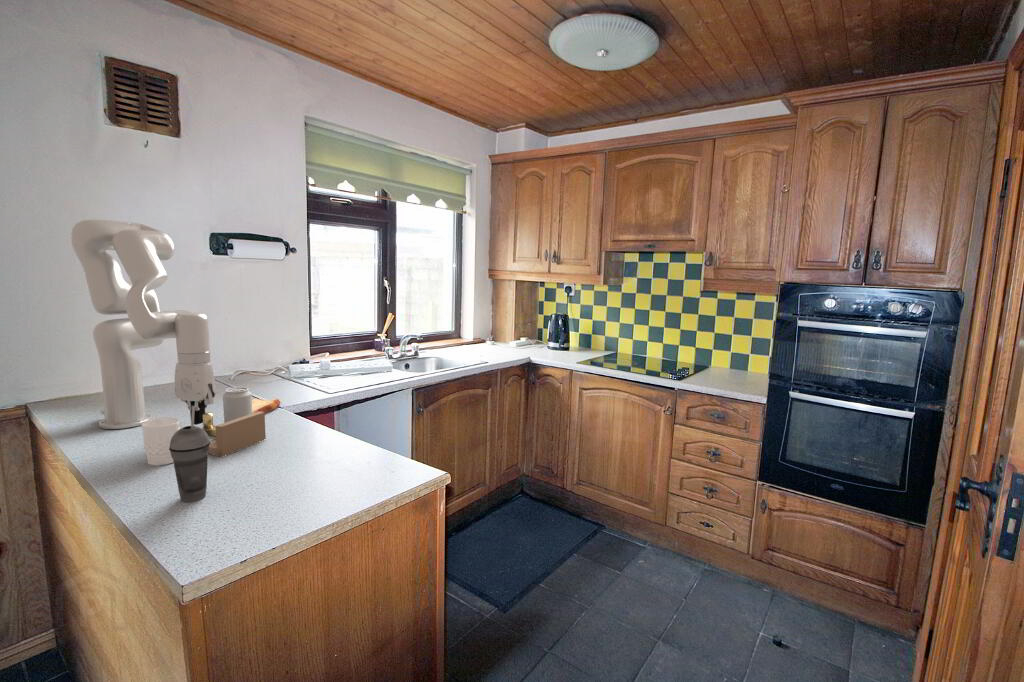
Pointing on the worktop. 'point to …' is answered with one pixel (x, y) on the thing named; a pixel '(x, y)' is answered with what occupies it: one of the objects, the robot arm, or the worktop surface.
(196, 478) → the beverage cup
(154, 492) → the worktop surface
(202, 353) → the robot arm
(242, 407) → the can
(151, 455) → the white cup
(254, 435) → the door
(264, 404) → the slice of bread
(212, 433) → the bolt
